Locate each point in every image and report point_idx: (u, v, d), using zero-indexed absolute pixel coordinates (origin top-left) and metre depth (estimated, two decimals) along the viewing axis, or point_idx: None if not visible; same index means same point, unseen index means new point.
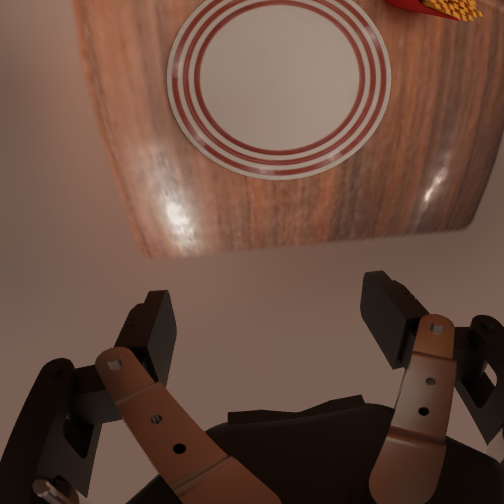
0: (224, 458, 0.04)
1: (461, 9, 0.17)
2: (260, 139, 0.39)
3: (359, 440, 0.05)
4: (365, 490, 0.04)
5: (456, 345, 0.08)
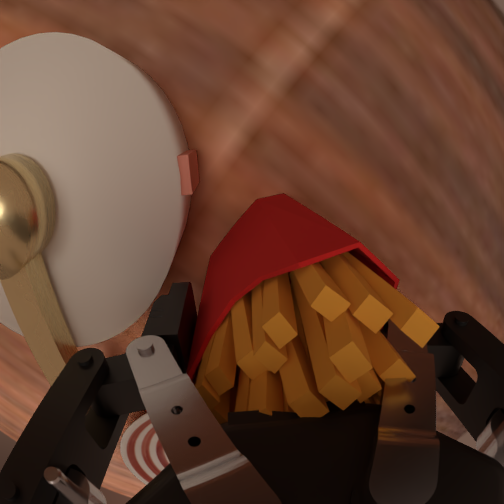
0: (236, 456, 0.04)
1: None
2: None
3: (359, 440, 0.05)
4: (365, 490, 0.04)
5: None
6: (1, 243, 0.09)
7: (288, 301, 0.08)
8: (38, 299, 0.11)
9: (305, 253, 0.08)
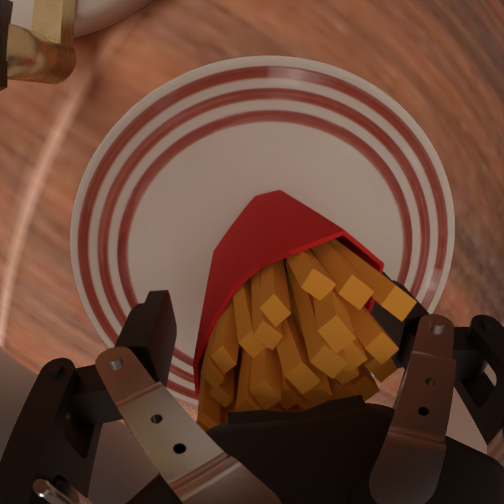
0: (224, 458, 0.04)
1: (333, 384, 0.08)
2: None
3: (359, 440, 0.05)
4: (365, 490, 0.04)
5: (456, 345, 0.08)
6: None
7: (283, 285, 0.09)
8: None
9: (296, 242, 0.09)
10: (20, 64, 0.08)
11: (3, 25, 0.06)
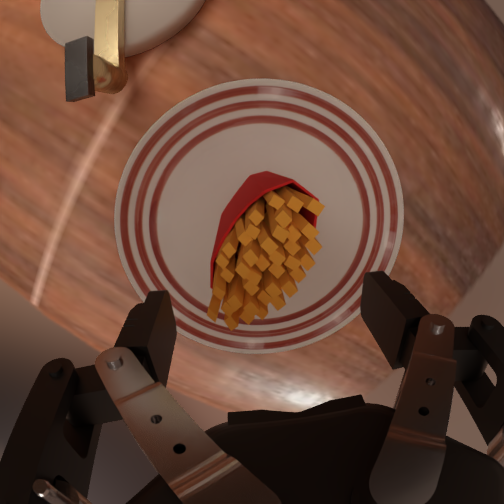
0: (224, 458, 0.04)
1: (288, 257, 0.15)
2: (307, 295, 0.32)
3: (359, 440, 0.05)
4: (365, 490, 0.04)
5: (456, 345, 0.08)
6: None
7: (261, 209, 0.17)
8: None
9: (268, 187, 0.17)
10: (99, 81, 0.16)
11: (90, 55, 0.14)
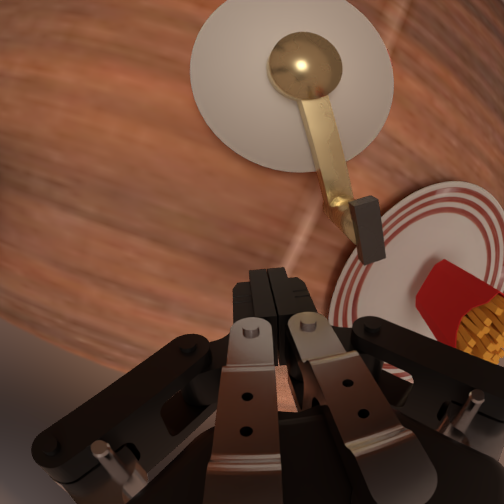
0: (273, 460, 0.04)
1: None
2: None
3: None
4: (365, 490, 0.04)
5: None
6: (321, 74, 0.18)
7: (484, 313, 0.21)
8: (333, 115, 0.20)
9: (486, 298, 0.21)
10: None
11: None
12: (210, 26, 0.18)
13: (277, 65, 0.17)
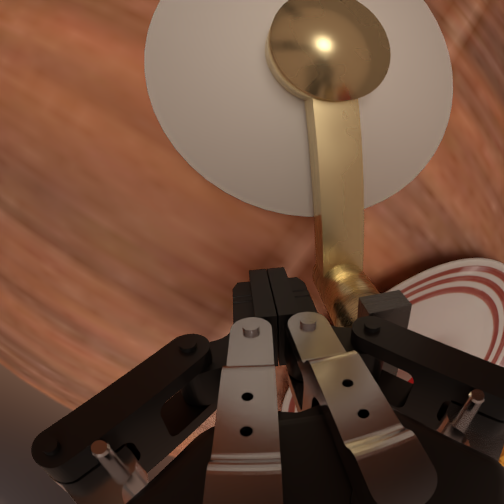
0: (274, 460, 0.04)
1: None
2: None
3: None
4: (365, 490, 0.04)
5: None
6: (354, 63, 0.10)
7: None
8: (360, 135, 0.12)
9: None
10: None
11: None
12: None
13: (282, 34, 0.09)
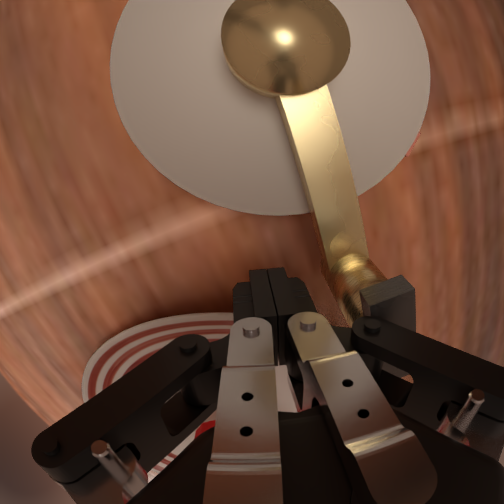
0: (274, 460, 0.04)
1: None
2: None
3: None
4: (365, 490, 0.04)
5: None
6: (313, 50, 0.10)
7: None
8: (337, 121, 0.12)
9: None
10: None
11: None
12: None
13: (233, 39, 0.09)
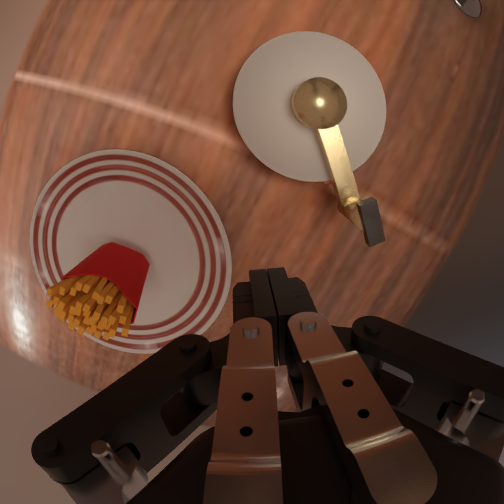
0: (274, 460, 0.04)
1: (95, 324, 0.24)
2: None
3: None
4: (365, 490, 0.04)
5: None
6: (332, 110, 0.26)
7: (114, 296, 0.26)
8: (342, 139, 0.28)
9: (128, 295, 0.26)
10: None
11: None
12: (349, 49, 0.25)
13: (300, 105, 0.25)
